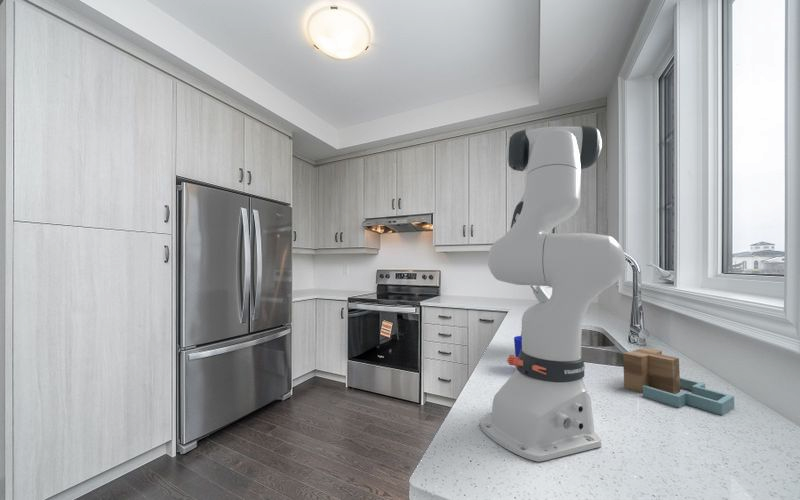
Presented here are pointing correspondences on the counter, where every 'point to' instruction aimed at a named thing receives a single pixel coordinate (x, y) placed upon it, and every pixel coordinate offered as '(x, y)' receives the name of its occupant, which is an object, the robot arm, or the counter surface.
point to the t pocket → (693, 397)
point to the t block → (651, 371)
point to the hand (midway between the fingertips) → (575, 313)
